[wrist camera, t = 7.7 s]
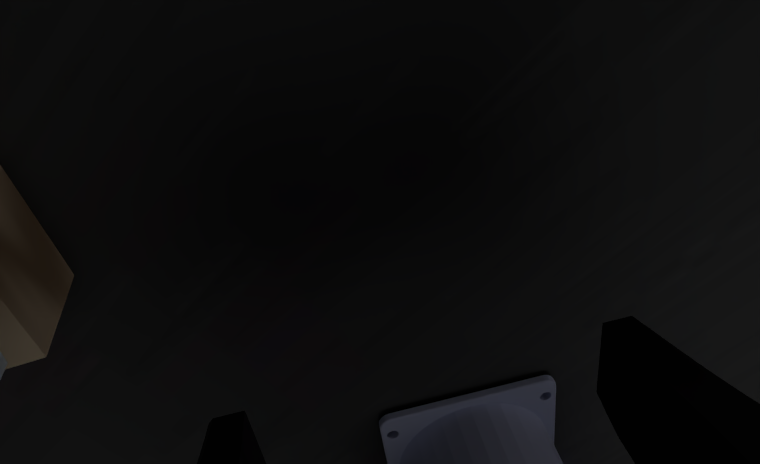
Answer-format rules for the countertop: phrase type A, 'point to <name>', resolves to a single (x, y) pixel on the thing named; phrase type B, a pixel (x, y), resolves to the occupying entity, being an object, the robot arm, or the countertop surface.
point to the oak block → (27, 280)
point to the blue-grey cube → (2, 364)
